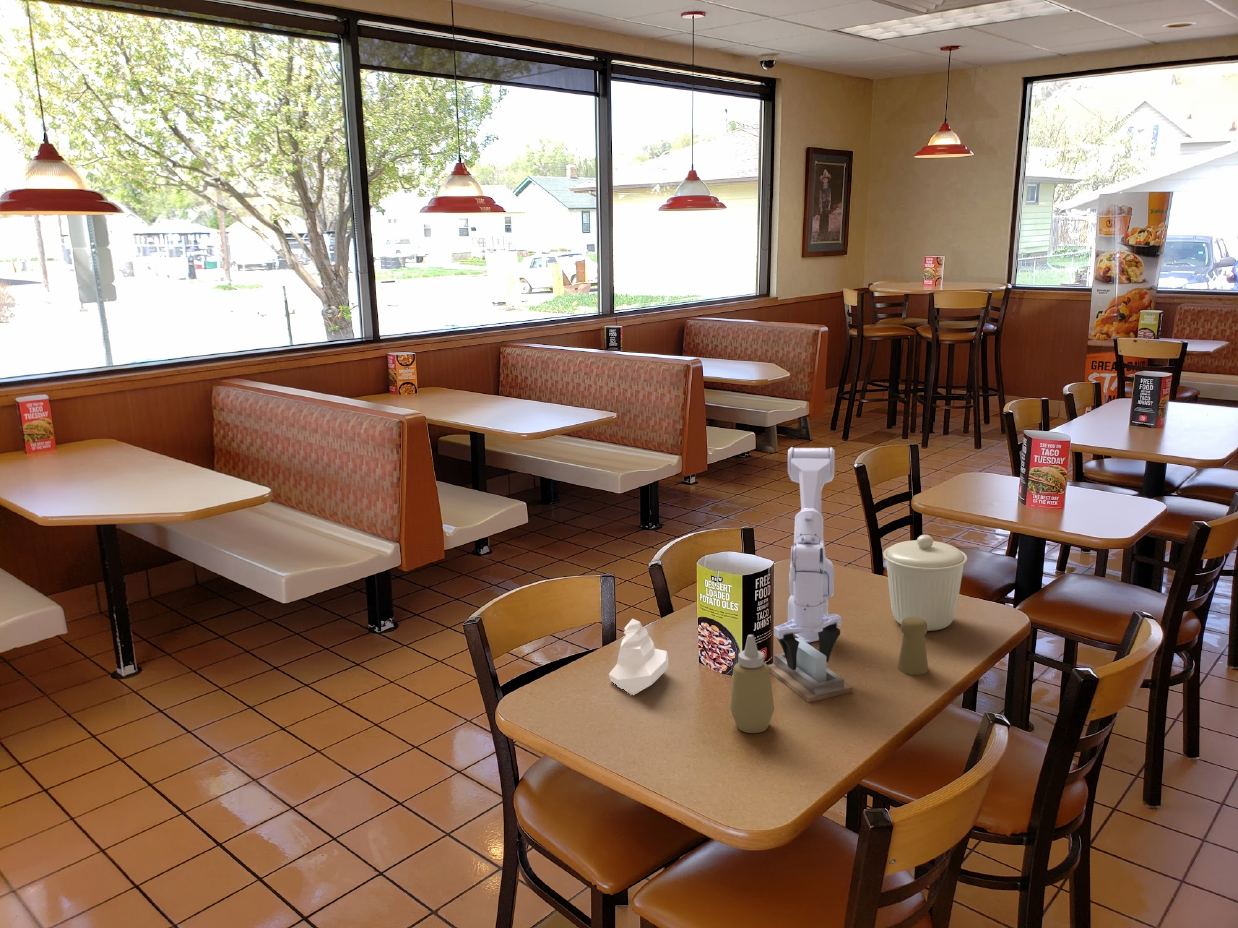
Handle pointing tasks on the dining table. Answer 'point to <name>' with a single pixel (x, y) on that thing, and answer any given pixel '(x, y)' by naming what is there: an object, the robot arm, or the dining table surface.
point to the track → (808, 681)
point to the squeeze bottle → (751, 690)
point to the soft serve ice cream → (638, 660)
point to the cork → (913, 647)
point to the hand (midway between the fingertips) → (808, 663)
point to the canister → (924, 580)
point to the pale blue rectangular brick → (811, 661)
